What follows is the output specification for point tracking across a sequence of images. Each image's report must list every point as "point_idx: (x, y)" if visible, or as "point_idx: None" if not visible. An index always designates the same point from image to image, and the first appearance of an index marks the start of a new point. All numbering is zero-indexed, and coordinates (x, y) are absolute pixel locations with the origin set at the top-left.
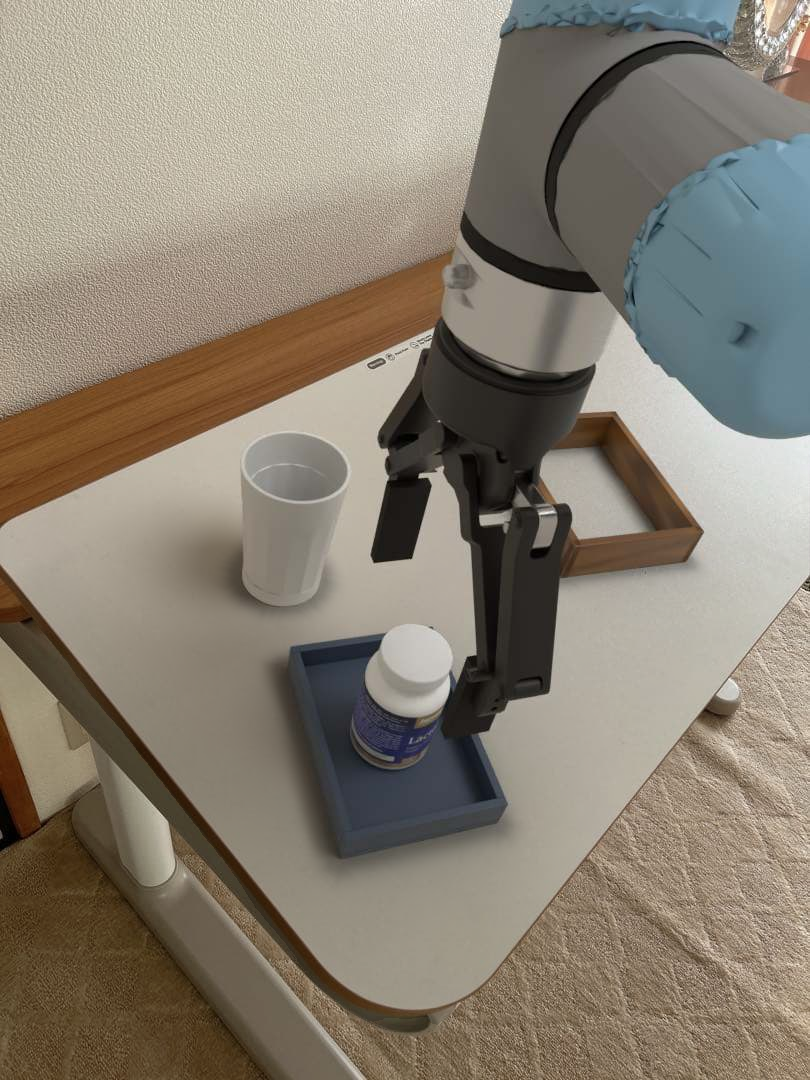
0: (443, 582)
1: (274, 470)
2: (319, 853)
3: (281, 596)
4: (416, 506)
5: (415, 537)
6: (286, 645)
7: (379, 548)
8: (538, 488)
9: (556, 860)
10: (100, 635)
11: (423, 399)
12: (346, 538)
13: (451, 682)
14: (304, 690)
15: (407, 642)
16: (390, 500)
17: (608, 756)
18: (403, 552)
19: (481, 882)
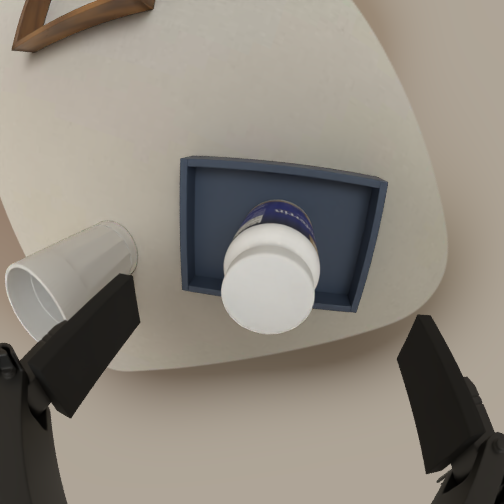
0: (129, 114)
1: (38, 289)
2: None
3: (131, 265)
4: (74, 354)
5: (109, 301)
6: (171, 269)
7: (127, 336)
8: (67, 19)
9: (418, 151)
10: (157, 357)
11: None
12: (81, 187)
13: (250, 167)
14: None
15: (249, 301)
16: (81, 400)
17: (352, 49)
18: (126, 296)
19: (409, 215)
